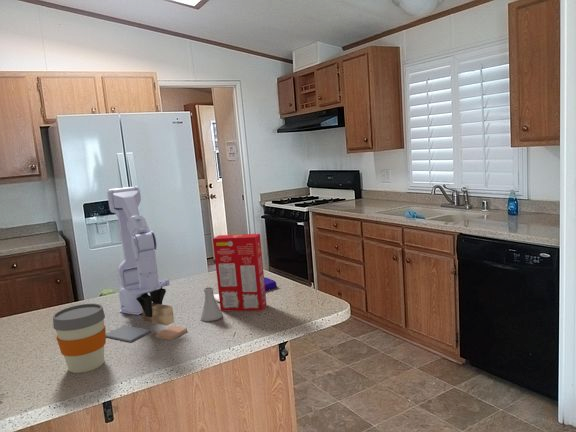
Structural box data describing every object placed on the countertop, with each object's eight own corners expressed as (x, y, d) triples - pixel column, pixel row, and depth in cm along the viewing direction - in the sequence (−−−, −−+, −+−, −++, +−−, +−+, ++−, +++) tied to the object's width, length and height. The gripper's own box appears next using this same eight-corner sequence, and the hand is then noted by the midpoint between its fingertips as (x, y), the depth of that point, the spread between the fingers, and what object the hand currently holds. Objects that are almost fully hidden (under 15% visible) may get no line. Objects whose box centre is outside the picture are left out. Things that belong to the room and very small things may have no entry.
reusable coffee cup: (116, 364, 124) (109, 310, 122) (65, 381, 117) (56, 324, 114) (104, 350, 134) (97, 299, 132) (56, 364, 127) (48, 312, 125)
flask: (218, 322, 148) (215, 291, 147) (197, 322, 150) (193, 292, 148) (225, 313, 156) (222, 284, 154) (205, 313, 157) (202, 285, 155)
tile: (155, 334, 140) (170, 337, 137) (172, 325, 146) (186, 328, 143) (156, 338, 140) (170, 341, 137) (173, 330, 146) (187, 332, 143)
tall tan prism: (143, 320, 145) (141, 305, 144) (150, 317, 147) (148, 302, 147) (167, 325, 140) (165, 309, 139) (174, 321, 142) (172, 306, 142)
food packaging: (266, 304, 160) (259, 233, 157) (262, 310, 155) (255, 236, 152) (225, 305, 164) (218, 235, 160) (220, 310, 159) (212, 238, 155)
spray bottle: (264, 276, 187) (207, 291, 174) (278, 281, 178) (220, 298, 165) (265, 283, 187) (208, 299, 174) (279, 289, 178) (221, 306, 165)
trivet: (103, 336, 144) (103, 334, 144) (124, 326, 151) (124, 325, 151) (130, 342, 138) (130, 340, 138) (151, 331, 145) (150, 330, 145)
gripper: (138, 279, 134) (144, 324, 136) (174, 266, 146) (179, 307, 148) (121, 277, 138) (128, 321, 140) (158, 265, 150) (163, 305, 152)
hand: (153, 314), depth 144 cm, fingers closed on tall tan prism, 3 cm apart
